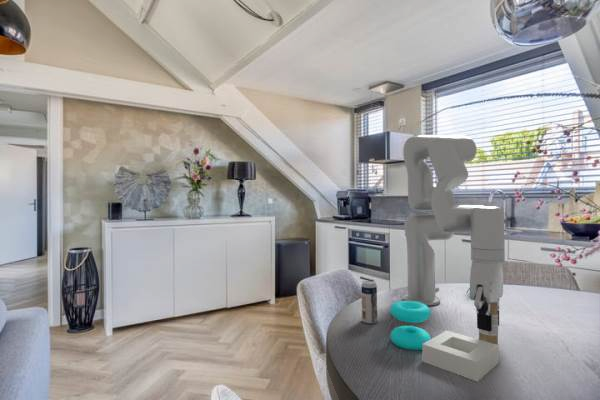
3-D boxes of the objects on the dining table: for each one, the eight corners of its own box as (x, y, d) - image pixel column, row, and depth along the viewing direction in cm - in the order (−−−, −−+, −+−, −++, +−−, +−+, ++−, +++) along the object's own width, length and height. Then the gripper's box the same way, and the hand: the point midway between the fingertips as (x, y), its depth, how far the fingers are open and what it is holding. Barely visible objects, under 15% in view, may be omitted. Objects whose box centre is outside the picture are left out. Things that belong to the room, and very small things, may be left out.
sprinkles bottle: (475, 341, 89) (474, 290, 89) (492, 341, 89) (491, 290, 89) (484, 349, 84) (483, 295, 84) (502, 349, 84) (502, 295, 84)
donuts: (438, 305, 87) (414, 313, 82) (439, 345, 87) (415, 355, 82) (406, 297, 96) (382, 303, 90) (406, 333, 96) (382, 342, 90)
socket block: (446, 346, 87) (446, 330, 87) (498, 362, 78) (498, 345, 78) (422, 361, 79) (422, 344, 79) (477, 381, 70) (477, 362, 70)
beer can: (377, 325, 102) (377, 284, 102) (361, 324, 103) (360, 284, 103) (377, 319, 106) (376, 280, 106) (361, 318, 107) (361, 280, 107)
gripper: (484, 250, 95) (485, 315, 95) (457, 257, 84) (458, 331, 84) (515, 253, 89) (516, 322, 89) (490, 261, 78) (491, 341, 78)
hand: (488, 326), depth 87 cm, fingers closed on sprinkles bottle, 4 cm apart
